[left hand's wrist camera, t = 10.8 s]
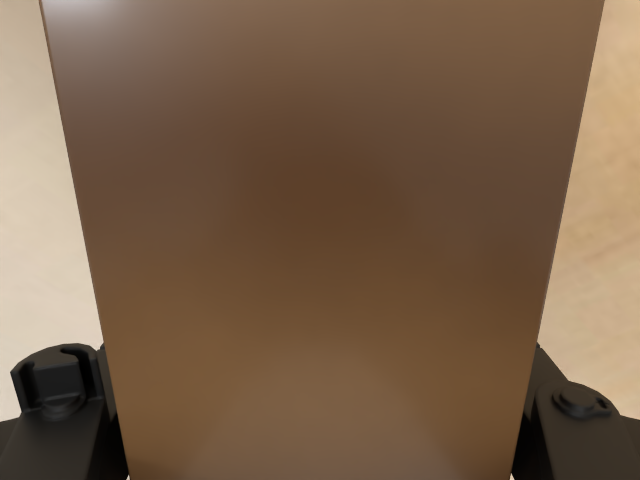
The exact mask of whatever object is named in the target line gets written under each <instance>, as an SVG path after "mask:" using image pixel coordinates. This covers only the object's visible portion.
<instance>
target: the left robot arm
mask: <svg viewBox="0 0 640 480" xmlns="http://www.w3.org/2000/svg"><path fill="white" fill-rule="evenodd" d="M10 374H11V377H12V380H13V384H14V387H15V391H16V394H17V398H18V401H19V404H20V408H21V411H22V412H21V415H20V417H18V418H15V419H11V420H7V421H2V422H0V480H126V479H127V477H128V475H129V472H128V467H127V461H126V456H125V451H124V446H123V440H122V435H121V430H120V425H119V419H118V414H117V409H116V404H115V398H114V393H113V388H112V383H111V377H110V372H109V367H108V362H107V356H106V351H105V346H104V343H103V344H102V345H101V347H100V350H97V352H96V350H94V349H93V348H92V347H91V346H89V345H84V344H79V343H73V344H61V345H57V346H53V347H48V348H46V349H43V350H41V351H38V352H36V353H33V354H31V355H30V356H28V357H27V358H25V359H23V360H22V361H20V362H19V363H18V364H17V365H16V366H15V367H14V368H13V369H12V370H11V372H10ZM511 473H512V476H513V478H514V480H640V420H638V419H633V418H629V417H625V416H622V415H620V414H619V412H618V410H617V409H616V408H615V406H614V405H613V404H612V402H611V401H610V400H608V399H607V398H606V397H604V396H603V395H602V394H600V393H599V392H597V391H595V390H593V389H591V388H589V387H587V386H585V385H582V384H578V383H575V382H571V381H568V380H567V378H566V377H565V376H564V375H563V373H562V372H561V371H560V370H559V368H558V367H557V366H556V365H555V364H554V362H553V361H552V360H551V359H550V357H549V356H548V355H547V354H546V352H545V351H544V350H543V349H542V348H540V345H539V344H538V342H537V344H536V349H535V354H534V359H533V364H532V369H531V374H530V379H529V384H528V389H527V394H526V400H525V405H524V410H523V415H522V420H521V425H520V430H519V435H518V440H517V445H516V450H515V455H514V460H513V465H512V470H511Z"/></svg>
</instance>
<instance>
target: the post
mask: <svg viewBox="0 0 640 480" xmlns="http://www.w3.org/2000/svg"><path fill="white" fill-rule="evenodd" d="M604 1H605V0H39V5H40V10H41V15H42V20H43V26H44V31H45V36H46V41H47V47H48V52H49V57H50V62H51V68H52V73H53V78H54V83H55V89H56V94H57V99H58V104H59V110H60V115H61V120H62V125H63V131H64V136H65V141H66V146H67V152H68V157H69V162H70V167H71V173H72V178H73V183H74V188H75V194H76V199H77V204H78V209H79V215H80V220H81V225H82V230H83V236H84V241H85V246H86V251H87V257H88V262H89V267H90V272H91V278H92V283H93V288H94V293H95V299H96V304H97V309H98V314H99V320H100V325H101V330H102V335H103V341H104V346H105V351H106V356H107V362H108V367H109V372H110V377H111V383H112V388H113V393H114V398H115V404H116V409H117V414H118V419H119V425H120V430H121V435H122V440H123V446H124V451H125V456H126V461H127V467H128V472H129V477H130V480H510V475H511V470H512V465H513V460H514V455H515V450H516V445H517V440H518V435H519V430H520V425H521V420H522V415H523V410H524V405H525V400H526V394H527V389H528V384H529V379H530V374H531V369H532V364H533V359H534V354H535V349H536V344H537V339H538V334H539V329H540V324H541V319H542V314H543V309H544V304H545V299H546V293H547V288H548V283H549V278H550V273H551V268H552V263H553V258H554V253H555V248H556V243H557V238H558V233H559V228H560V223H561V218H562V213H563V208H564V203H565V198H566V192H567V187H568V182H569V177H570V172H571V167H572V162H573V157H574V152H575V147H576V142H577V137H578V132H579V127H580V122H581V117H582V112H583V107H584V102H585V97H586V92H587V86H588V81H589V76H590V71H591V66H592V61H593V56H594V51H595V46H596V41H597V36H598V31H599V26H600V21H601V16H602V11H603V6H604Z"/></svg>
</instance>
